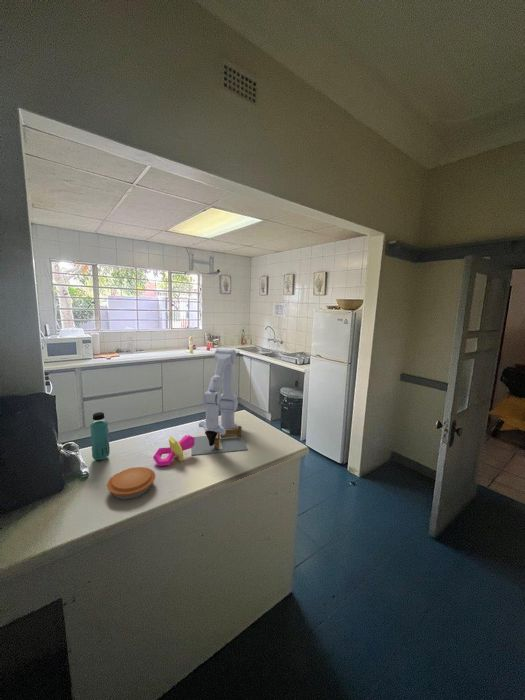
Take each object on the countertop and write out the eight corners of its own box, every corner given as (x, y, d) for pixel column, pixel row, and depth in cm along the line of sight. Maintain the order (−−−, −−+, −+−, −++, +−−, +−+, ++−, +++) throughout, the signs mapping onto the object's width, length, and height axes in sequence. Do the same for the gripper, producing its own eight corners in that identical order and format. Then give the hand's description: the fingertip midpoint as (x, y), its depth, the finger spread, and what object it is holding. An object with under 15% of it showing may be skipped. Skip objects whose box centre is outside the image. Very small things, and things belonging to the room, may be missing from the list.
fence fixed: (214, 438, 139) (214, 427, 138) (240, 435, 142) (241, 425, 141) (215, 440, 136) (215, 429, 135) (241, 437, 140) (241, 427, 139)
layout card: (191, 437, 138) (191, 436, 138) (240, 433, 144) (240, 432, 144) (191, 455, 122) (191, 454, 122) (247, 449, 128) (247, 448, 128)
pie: (163, 490, 98) (162, 477, 98) (115, 511, 88) (114, 496, 87) (146, 471, 110) (145, 459, 109) (101, 487, 99) (101, 474, 98)
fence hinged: (215, 438, 136) (215, 430, 135) (219, 438, 136) (219, 429, 135) (214, 449, 126) (214, 440, 125) (218, 449, 126) (218, 439, 125)
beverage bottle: (102, 464, 113) (99, 417, 110) (88, 462, 114) (85, 415, 111) (113, 456, 119) (111, 411, 116) (100, 454, 120) (97, 409, 117)
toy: (151, 459, 119) (147, 445, 113) (189, 437, 129) (187, 423, 123) (162, 477, 113) (159, 463, 107) (201, 452, 124) (200, 438, 117)
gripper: (194, 415, 126) (194, 444, 128) (218, 423, 119) (218, 453, 121) (205, 411, 132) (204, 438, 134) (228, 418, 125) (228, 447, 127)
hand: (211, 445), depth 128 cm, fingers closed
